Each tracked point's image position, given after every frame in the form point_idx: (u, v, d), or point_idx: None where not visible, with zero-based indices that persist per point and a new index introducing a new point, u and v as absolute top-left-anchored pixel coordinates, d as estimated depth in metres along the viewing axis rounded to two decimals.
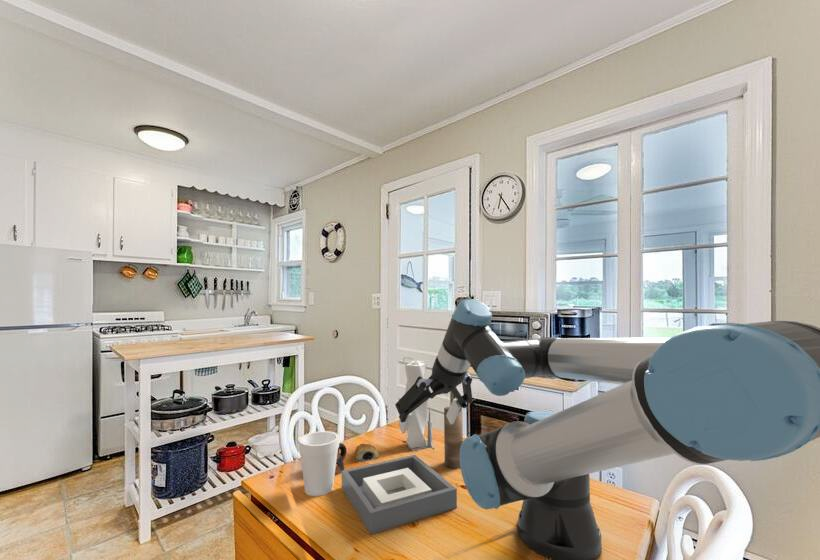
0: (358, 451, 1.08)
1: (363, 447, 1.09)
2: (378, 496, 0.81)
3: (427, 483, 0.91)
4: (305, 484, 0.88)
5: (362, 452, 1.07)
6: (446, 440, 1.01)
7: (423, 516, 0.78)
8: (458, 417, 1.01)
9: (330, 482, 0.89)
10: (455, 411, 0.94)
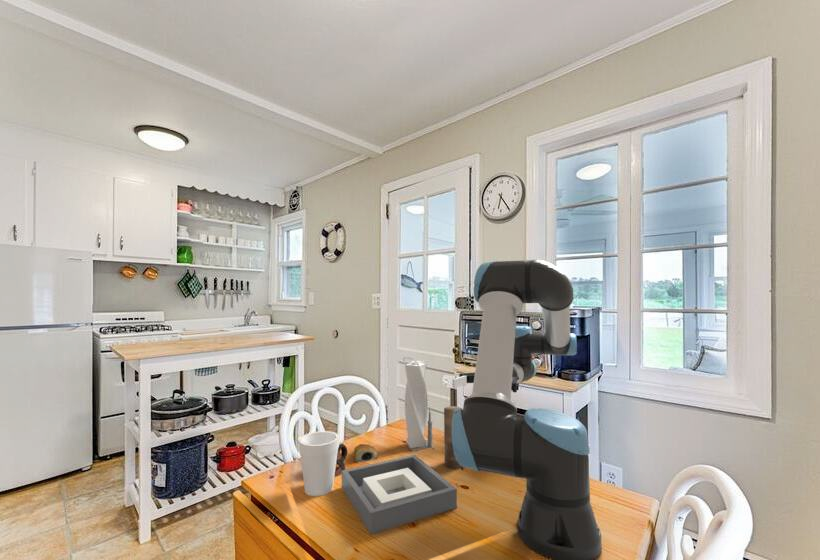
0: (357, 451, 1.07)
1: (362, 447, 1.09)
2: (378, 496, 0.81)
3: (427, 483, 0.91)
4: (305, 484, 0.88)
5: (361, 452, 1.06)
6: (446, 440, 1.01)
7: (423, 516, 0.78)
8: None
9: (330, 482, 0.89)
10: None
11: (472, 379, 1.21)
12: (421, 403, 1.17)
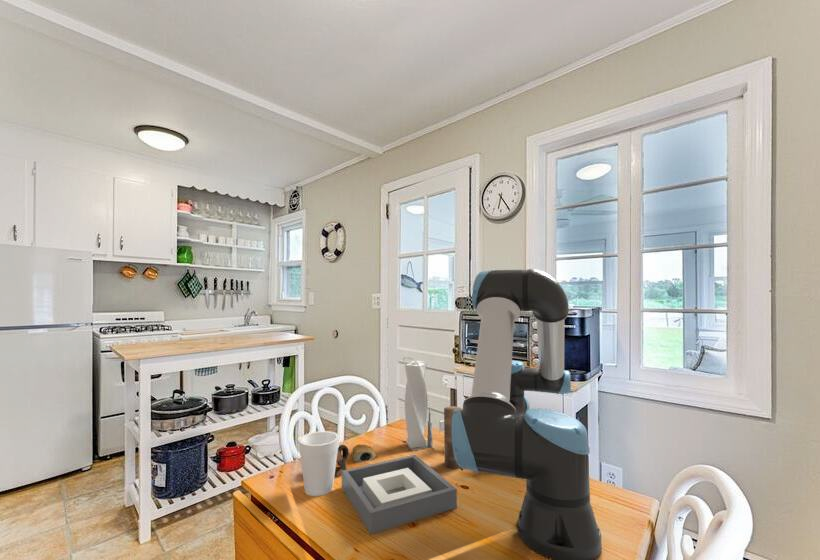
0: (355, 452, 1.07)
1: (360, 448, 1.08)
2: (378, 496, 0.81)
3: (427, 483, 0.91)
4: (305, 484, 0.88)
5: (360, 453, 1.06)
6: (446, 440, 1.01)
7: (423, 516, 0.78)
8: None
9: (330, 482, 0.89)
10: None
11: None
12: (421, 403, 1.17)
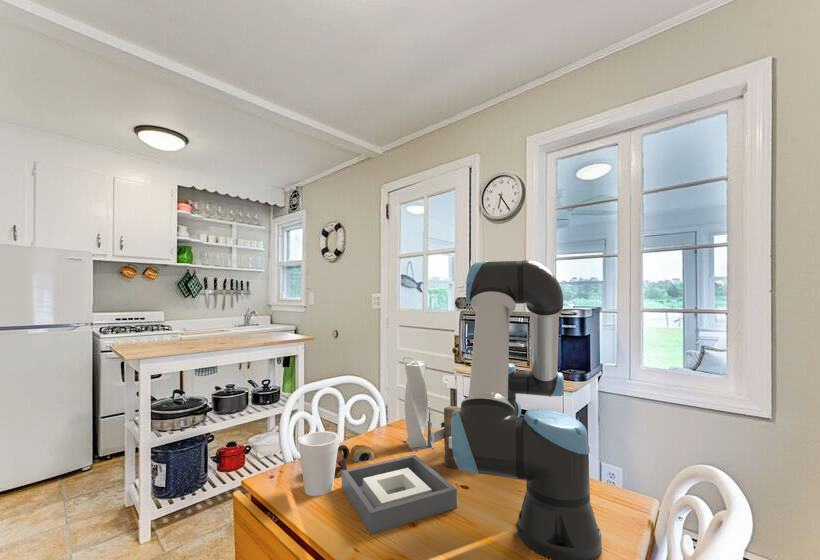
0: (354, 452, 1.07)
1: (359, 448, 1.08)
2: (378, 496, 0.81)
3: (427, 483, 0.91)
4: (305, 484, 0.88)
5: (359, 453, 1.06)
6: (446, 440, 1.01)
7: (423, 516, 0.78)
8: None
9: (330, 482, 0.89)
10: None
11: None
12: (421, 403, 1.17)
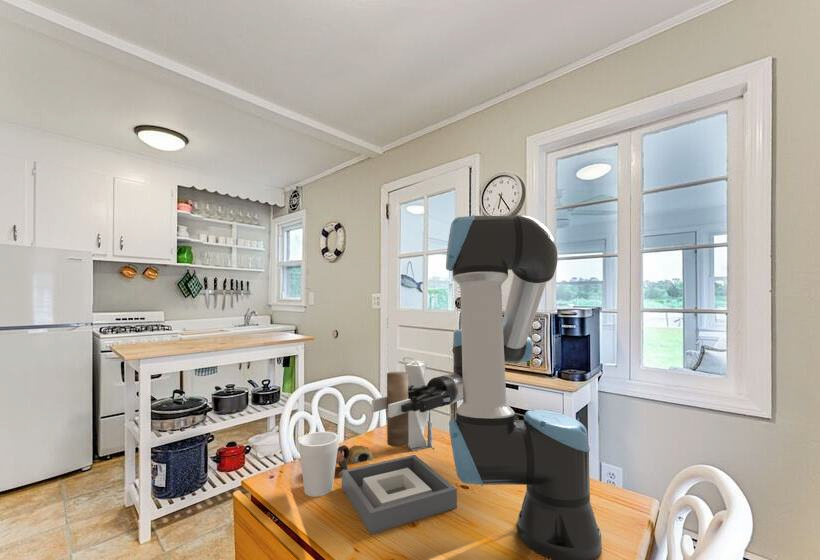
0: (353, 453, 1.06)
1: (357, 449, 1.08)
2: (378, 496, 0.81)
3: (427, 483, 0.91)
4: (304, 484, 0.88)
5: (357, 454, 1.05)
6: None
7: (423, 516, 0.78)
8: (402, 382, 0.86)
9: (329, 483, 0.88)
10: None
11: None
12: None
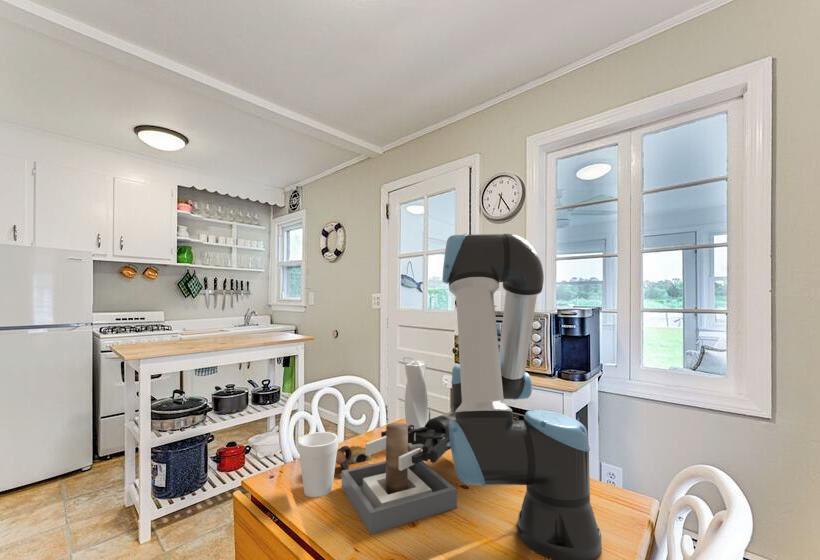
0: None
1: (355, 450, 1.07)
2: (378, 496, 0.81)
3: (427, 483, 0.91)
4: (304, 485, 0.88)
5: (355, 455, 1.05)
6: (387, 464, 0.85)
7: (423, 516, 0.78)
8: (402, 437, 0.85)
9: (329, 483, 0.88)
10: None
11: None
12: (421, 403, 1.17)
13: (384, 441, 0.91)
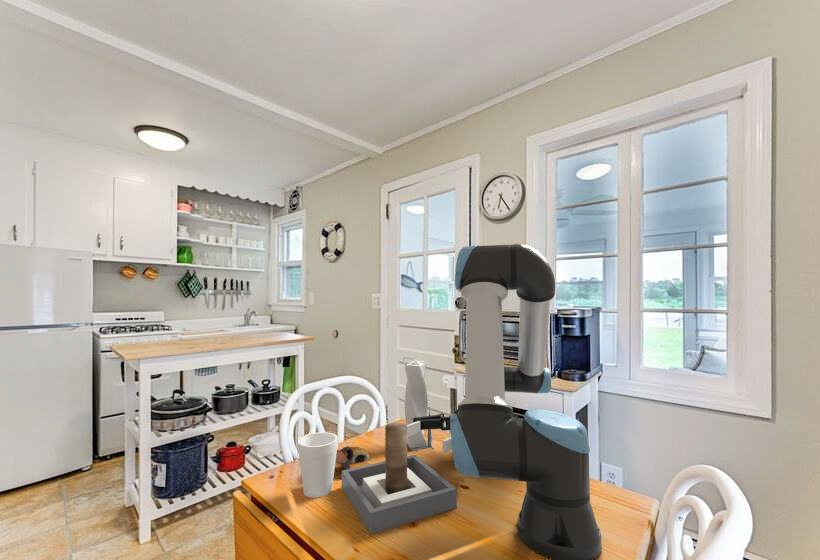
0: None
1: (354, 450, 1.07)
2: (378, 496, 0.81)
3: (427, 483, 0.91)
4: (303, 485, 0.87)
5: (354, 455, 1.04)
6: (387, 464, 0.85)
7: (423, 516, 0.78)
8: (401, 436, 0.85)
9: (328, 484, 0.88)
10: None
11: (427, 425, 1.03)
12: (421, 403, 1.17)
13: (417, 425, 1.01)
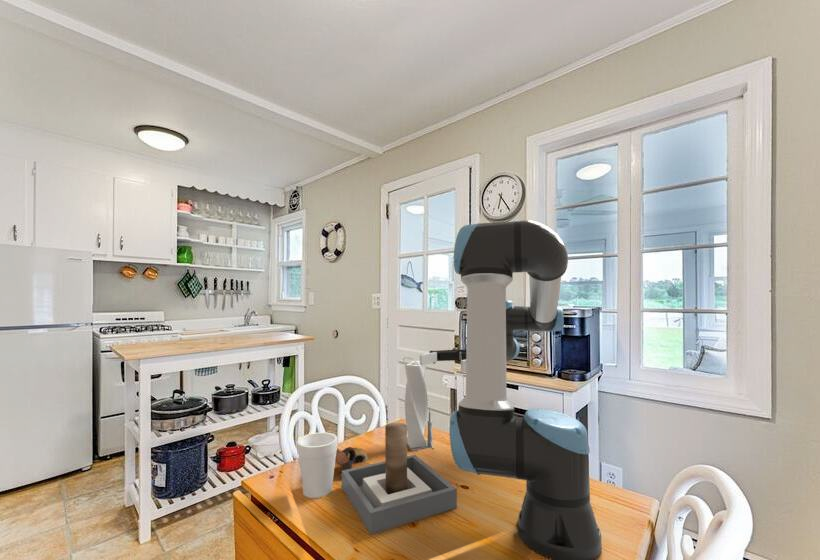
0: (348, 456, 1.05)
1: None
2: (378, 496, 0.81)
3: (427, 483, 0.91)
4: (303, 485, 0.87)
5: None
6: (387, 464, 0.85)
7: (423, 516, 0.78)
8: (401, 436, 0.85)
9: (328, 484, 0.88)
10: None
11: (443, 356, 1.06)
12: (421, 403, 1.17)
13: (434, 355, 1.04)
